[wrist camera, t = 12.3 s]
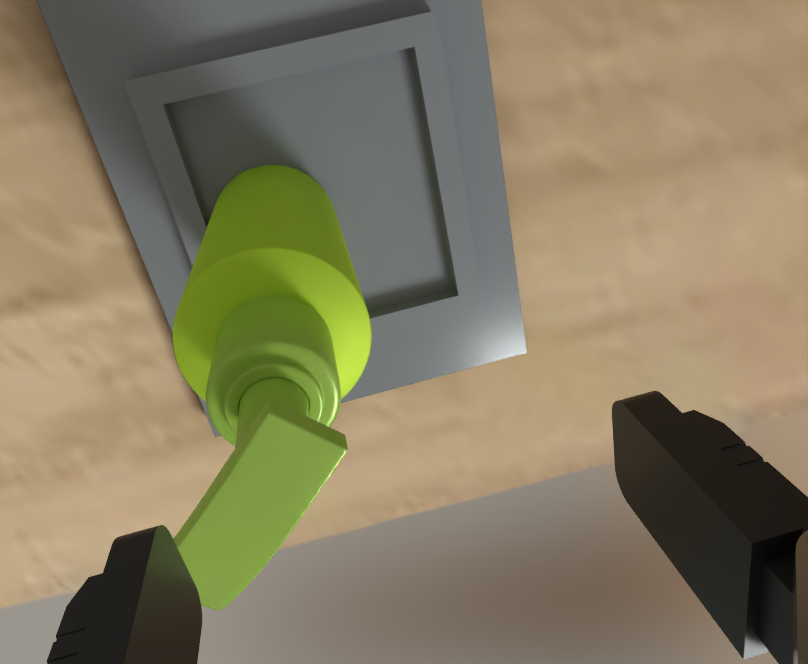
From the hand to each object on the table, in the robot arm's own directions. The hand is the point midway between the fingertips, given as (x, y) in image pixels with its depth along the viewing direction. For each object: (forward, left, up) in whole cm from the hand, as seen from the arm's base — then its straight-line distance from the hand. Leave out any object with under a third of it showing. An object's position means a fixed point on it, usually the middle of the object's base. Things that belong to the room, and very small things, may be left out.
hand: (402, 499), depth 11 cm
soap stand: (0, 0, -24) cm, 24 cm away
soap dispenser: (+1, -3, -22) cm, 22 cm away
